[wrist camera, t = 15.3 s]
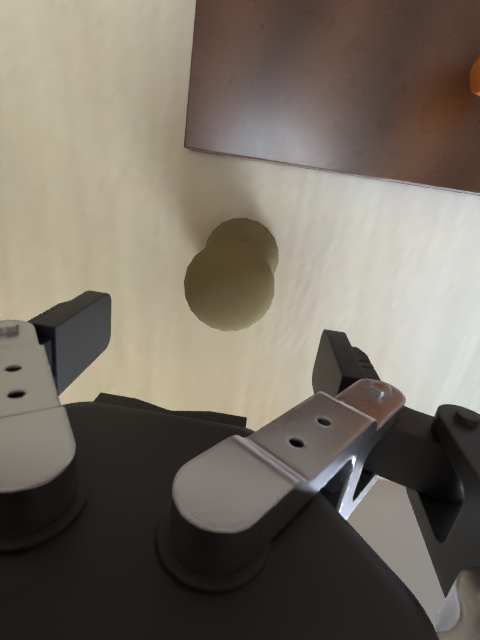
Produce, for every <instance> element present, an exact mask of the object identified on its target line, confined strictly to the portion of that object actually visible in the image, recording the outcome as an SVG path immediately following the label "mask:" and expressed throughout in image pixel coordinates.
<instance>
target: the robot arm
mask: <svg viewBox="0 0 480 640" xmlns="http://www.w3.org/2000/svg"><path fill="white" fill-rule="evenodd" d="M110 336H111V297H110V295H109V294H107V293H101V292H95V291H86V292H84V293H83V294H81V295H79V296H78V297H76V298H74V299H72V300H71V301H67V302H63V303H60V304H57V305H56V306H54V307H52V308H50V310H47V311H45V312H43V314H40V315H38V316H36V317H34V318H33V319H31V320H29V321H27V322H26V321H20V320H3V321H0V640H480V414H478V413H476V412H474V411H472V410H469V409H467V408H464V407H461V406H457V405H451V404H444V405H441V406H439V407H438V409H437V411H436V414H435V416H434V417H433V416H430V415H427V414H424V413H421V412H418V411H415V410H413V409H410V408H408V407H406V406H404V404H405V400H406V399H405V396H404V395H403V393H402V392H401V391H400V390H398V389H397V388H395V387H394V386H392V385H390V384H388V383H385V382H382V381H381V380H380V378H379V377H378V375H377V373H376V371H375V370H374V367H373V366H372V364H371V363H370V360H369V358H368V356H367V355H366V354H365V353H364V352H362V351H361V350H360V349H359V348H357V347H352V346H351V344H350V342H349V340H348V338H347V336H346V334H345V333H344V332H338V331H332V330H326V329H325V330H324V331H323V333H322V336H321V340H320V344H319V348H318V352H317V356H316V360H315V364H314V368H313V375H312V385H313V390H314V395H313V396H311V397H309V398H308V399H306V400H305V401H303V402H302V403H300V404H298V405H297V406H295V407H294V408H292V409H291V410H289V411H288V412H286V413H284V414H283V415H281V416H280V417H278V418H277V419H275V420H273V421H272V422H270V423H269V424H267V425H266V426H264V427H262V428H261V429H259V430H258V431H256V432H255V431H253V430H251V429H248V428H246V420H247V418H246V417H240V416H234V415H228V414H223V413H217V412H211V411H170V410H167V409H164V408H161V407H158V406H155V405H152V404H150V403H147V402H144V401H141V400H138V399H135V398H129V397H123V396H117V395H111V394H106V393H100V394H99V395H98V397H97V398H96V399H95V400H94V402H77V403H70V404H65V405H61V404H60V400H59V397H58V396H59V395H60V394H61V393H62V392H63V391H64V390H65V389H66V388H67V387H68V386H69V385H70V384H71V383H72V382H73V381H74V380H75V379H76V378H77V377H78V376H79V375H80V374H81V373H82V372H83V371H84V370H85V369H86V368H87V367H88V366H89V365H90V364H91V363H92V362H93V361H94V360H95V359H96V358H97V357H98V356H99V355H100V354H101V353H102V352H103V351H104V350H105V349H106V348H107V346H108V344H109V341H110ZM378 476H381V477H383V478H386V479H388V480H391V481H393V482H395V483H398V484H401V485H403V486H405V487H406V490H407V494H408V497H409V500H410V503H411V505H412V508H413V510H414V514H415V516H416V519H417V522H418V525H419V527H420V530H421V533H422V535H423V538H424V541H425V544H426V546H427V549H428V552H429V555H430V558H431V560H432V563H433V566H434V569H435V571H436V574H437V577H438V580H439V583H440V585H441V588H442V591H443V593H444V596H445V601H444V603H443V605H442V606H441V608H440V610H439V612H438V614H437V618H436V629H437V632H436V631H435V629H434V627H433V624H432V623H431V621H430V619H429V617H428V616H427V614H426V612H425V610H424V609H423V607H422V606H421V604H420V603H419V602H418V600H417V599H416V597H415V596H414V594H413V593H412V592H411V591H410V590H409V589H408V587H407V586H406V585H405V584H404V583H403V582H402V581H401V579H400V578H399V577H398V576H397V575H396V574H395V573H394V572H393V571H392V570H391V569H390V567H388V565H387V564H386V563H385V562H384V561H383V560H382V559H381V558H380V557H379V555H378V554H377V553H376V552H375V551H374V550H373V549H372V548H371V547H370V546H369V545H368V544H367V542H366V541H364V539H363V538H362V537H361V536H360V535H359V534H358V533H357V532H356V531H355V529H354V528H353V527H352V526H351V525H350V524H349V523H348V522H347V521H346V520H347V518H348V517H349V515H350V514H351V512H352V511H353V510H354V508H355V507H356V506H357V505H358V504H359V502H360V501H361V500H362V498H363V497H364V496H365V495H366V493H367V492H368V491H369V489H370V488H371V487H372V486H373V484H374V483H375V482H376V480H377V479H378Z"/></svg>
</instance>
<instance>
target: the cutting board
mask: <svg viewBox="0 0 480 640" xmlns="http://www.w3.org/2000/svg"><path fill="white" fill-rule="evenodd" d="M479 55H480V0H196V10H195V22H194V34H193V46H192V58H191V69H190V81H189V93H188V105H187V117H186V129H185V141H184V147H185V148H187V149H189V150H194V151H200V152H207V153H213V154H219V155H225V156H232V157H238V158H244V159H251V160H257V161H263V162H270V163H276V164H282V165H289V166H295V167H301V168H308V169H314V170H320V171H327V172H333V173H339V174H346V175H352V176H358V177H365V178H371V179H377V180H384V181H390V182H396V183H403V184H409V185H415V186H422V187H428V188H434V189H441V190H447V191H453V192H460V193H466V194H472V195H479V196H480V96H478V95H476V94H474V93H473V92H471V88H470V76H469V73H470V71H471V68H472V66H473V65H474V63H475V61H476V60H477V58H478V56H479Z"/></svg>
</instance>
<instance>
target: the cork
mask: <svg viewBox="0 0 480 640" xmlns="http://www.w3.org/2000/svg"><path fill="white" fill-rule="evenodd" d="M277 263H278V248H277V245H276V242H275V239H274V237H273V236H272V234H271V233H270V232H269V230H268V229H267V228H266V227H264V226H263V225H261V224H260V223H259V222H257V221H253V220H250V219H247V218H239V219H232V220H229V221H226V222H224V223H222V224H221V225H220V226H218V227H217V228H216V229H215V230H214V231H213V232H212V234H211V235H210V237H209V238H208V240H207V244H206V247H205V248H204V249H203V250H202V251H200V252H199V253H198V254H197V255H196V256H195V257H194V258H193V260H192V261H191V263H190V264H189V266H188V268H187V271H186V276H185V280H184V287H185V297H186V300H187V302H188V304H189V307H190V309H191V311H192V312H193V313H194V314H195V315H196V316H197V318H198V319H199V320H200V321H202V322H203V323H205V324H207V325H208V326H210V327H212V328H215V329H219V330H222V331H238V330H241V329H244V328H247V327H250V326H251V325H253V324H254V323H255V322H257V321H258V320H260V319H261V318H262V317H263V315H264V314H265V313H266V311H267V310H268V309H269V307H270V305H271V302H272V299H273V296H274V276H273V274H274V272H275V269H276V266H277Z"/></svg>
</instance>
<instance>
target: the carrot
mask: <svg viewBox="0 0 480 640" xmlns="http://www.w3.org/2000/svg"><path fill="white" fill-rule="evenodd" d="M469 76H470V88H471V92H473V93H474V94H476V95H478V96H480V55H479V56H478V58H477V60H476V61H475V63H474V65H473V66H472V68H471V71H470V73H469Z"/></svg>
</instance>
